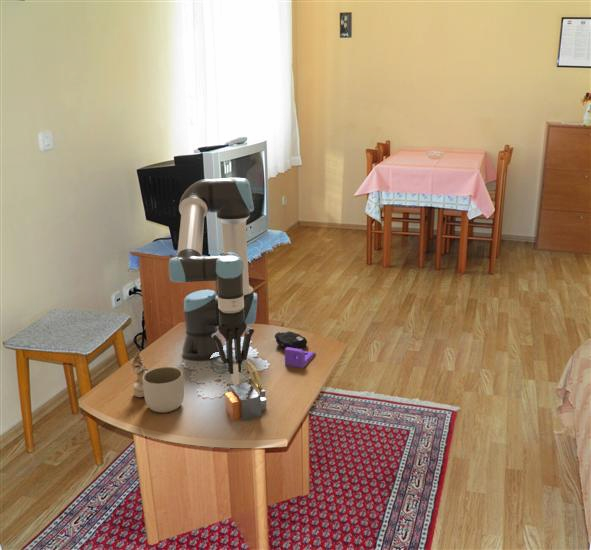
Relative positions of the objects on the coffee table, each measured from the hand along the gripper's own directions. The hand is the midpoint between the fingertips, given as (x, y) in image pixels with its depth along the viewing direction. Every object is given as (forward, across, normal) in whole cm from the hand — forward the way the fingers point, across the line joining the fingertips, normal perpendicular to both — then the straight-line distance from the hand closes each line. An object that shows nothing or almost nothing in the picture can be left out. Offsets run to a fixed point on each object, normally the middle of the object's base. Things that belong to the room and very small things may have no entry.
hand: (235, 382), depth 198 cm
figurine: (+11, -23, +25) cm, 36 cm away
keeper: (+3, +7, 0) cm, 7 cm away
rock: (+10, +32, +42) cm, 54 cm away
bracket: (+11, +33, +27) cm, 44 cm away
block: (+11, +3, 0) cm, 11 cm away
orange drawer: (+11, +4, 0) cm, 12 cm away
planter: (+11, -19, +14) cm, 26 cm away
